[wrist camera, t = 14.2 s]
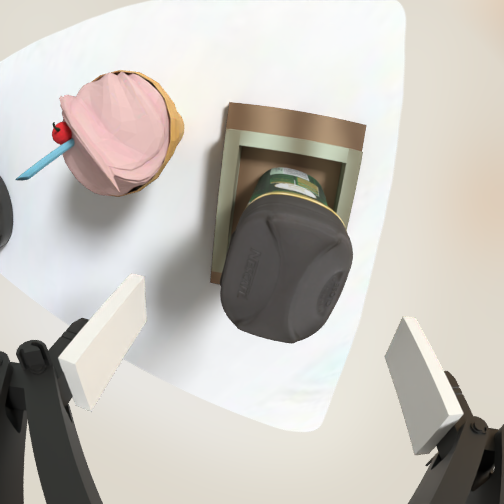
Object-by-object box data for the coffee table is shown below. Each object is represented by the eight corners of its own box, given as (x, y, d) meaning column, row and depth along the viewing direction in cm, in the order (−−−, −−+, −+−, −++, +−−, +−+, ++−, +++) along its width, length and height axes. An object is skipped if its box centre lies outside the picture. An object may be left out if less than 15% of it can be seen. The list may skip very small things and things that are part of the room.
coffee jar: (305, 256, 37) (317, 366, 20) (241, 237, 37) (202, 336, 20) (332, 179, 33) (378, 235, 16) (263, 158, 33) (236, 192, 16)
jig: (211, 279, 40) (205, 292, 37) (230, 102, 32) (224, 100, 29) (325, 297, 40) (328, 312, 37) (364, 125, 31) (372, 125, 28)
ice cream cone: (170, 191, 36) (70, 257, 18) (110, 136, 34) (-12, 160, 16) (230, 123, 33) (162, 121, 14) (164, 67, 31) (53, 29, 12)
